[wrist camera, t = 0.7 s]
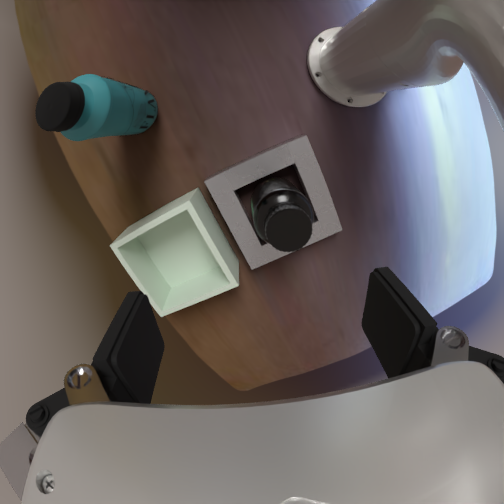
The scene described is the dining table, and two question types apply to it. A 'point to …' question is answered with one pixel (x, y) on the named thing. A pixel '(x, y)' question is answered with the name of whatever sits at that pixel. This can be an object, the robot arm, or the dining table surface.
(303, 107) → the dining table surface
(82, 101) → the beverage bottle
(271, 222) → the supplement bottle
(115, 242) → the bin
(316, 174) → the socket block
